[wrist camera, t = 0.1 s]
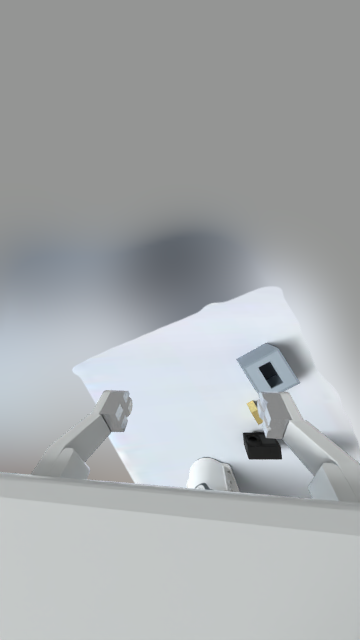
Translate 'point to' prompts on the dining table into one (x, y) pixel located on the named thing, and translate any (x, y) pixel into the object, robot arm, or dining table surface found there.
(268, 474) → the dining table surface
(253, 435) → the digital camera
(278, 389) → the box
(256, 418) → the block
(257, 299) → the dining table surface
